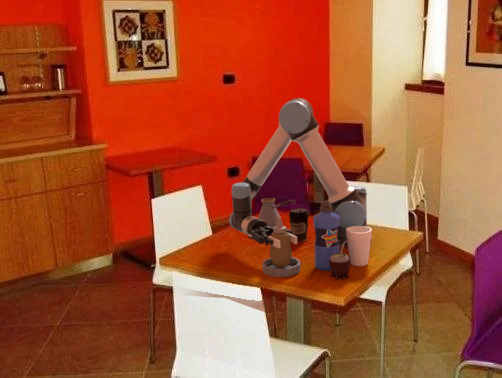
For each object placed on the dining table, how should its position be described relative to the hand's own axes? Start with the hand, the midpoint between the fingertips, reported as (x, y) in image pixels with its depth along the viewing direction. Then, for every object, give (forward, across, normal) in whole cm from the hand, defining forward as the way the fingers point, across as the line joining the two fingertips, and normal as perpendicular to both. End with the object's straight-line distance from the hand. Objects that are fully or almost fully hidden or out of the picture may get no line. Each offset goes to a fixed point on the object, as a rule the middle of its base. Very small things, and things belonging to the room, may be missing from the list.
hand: (287, 242), depth 214 cm
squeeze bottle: (-5, 0, -10) cm, 11 cm away
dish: (-5, 0, -12) cm, 13 cm away
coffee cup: (-30, -26, -12) cm, 42 cm away
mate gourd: (+13, -13, -12) cm, 22 cm away
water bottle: (+2, -16, -12) cm, 20 cm away
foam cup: (+6, -27, -12) cm, 30 cm away
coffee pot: (-50, -27, -12) cm, 58 cm away
